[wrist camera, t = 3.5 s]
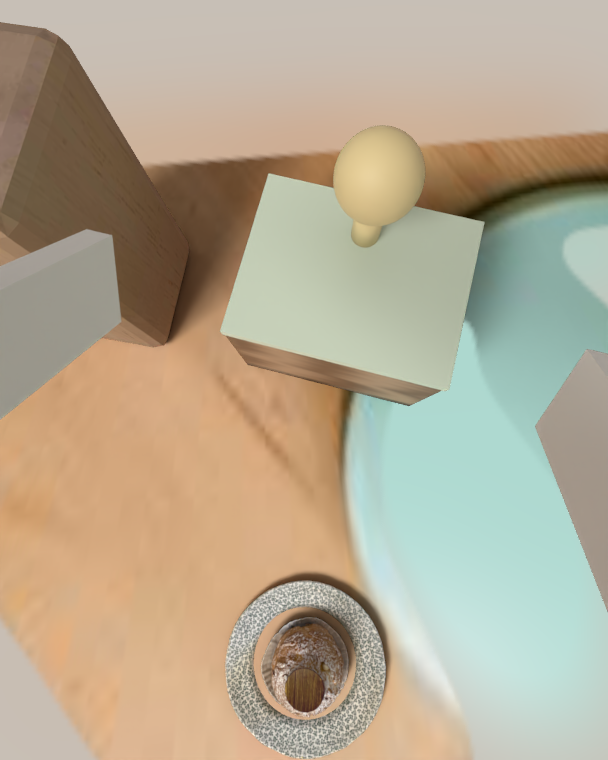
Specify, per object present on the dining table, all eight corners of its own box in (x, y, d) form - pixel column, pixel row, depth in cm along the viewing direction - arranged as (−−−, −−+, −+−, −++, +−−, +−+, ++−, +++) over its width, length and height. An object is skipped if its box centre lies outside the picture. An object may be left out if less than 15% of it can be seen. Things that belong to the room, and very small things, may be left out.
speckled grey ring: (415, 676, 32) (432, 714, 27) (290, 784, 31) (285, 842, 26) (319, 545, 33) (320, 559, 29) (197, 642, 32) (178, 674, 28)
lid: (479, 228, 28) (554, 127, 19) (445, 391, 26) (510, 361, 17) (269, 180, 28) (250, 64, 20) (222, 334, 27) (179, 279, 18)
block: (89, 228, 38) (-152, -11, 18) (195, 245, 38) (64, 19, 18) (58, 332, 37) (-241, 192, 17) (169, 351, 36) (-7, 232, 16)
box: (436, 282, 36) (476, 228, 28) (408, 406, 35) (441, 390, 26) (282, 245, 37) (272, 182, 28) (247, 364, 36) (225, 335, 27)
